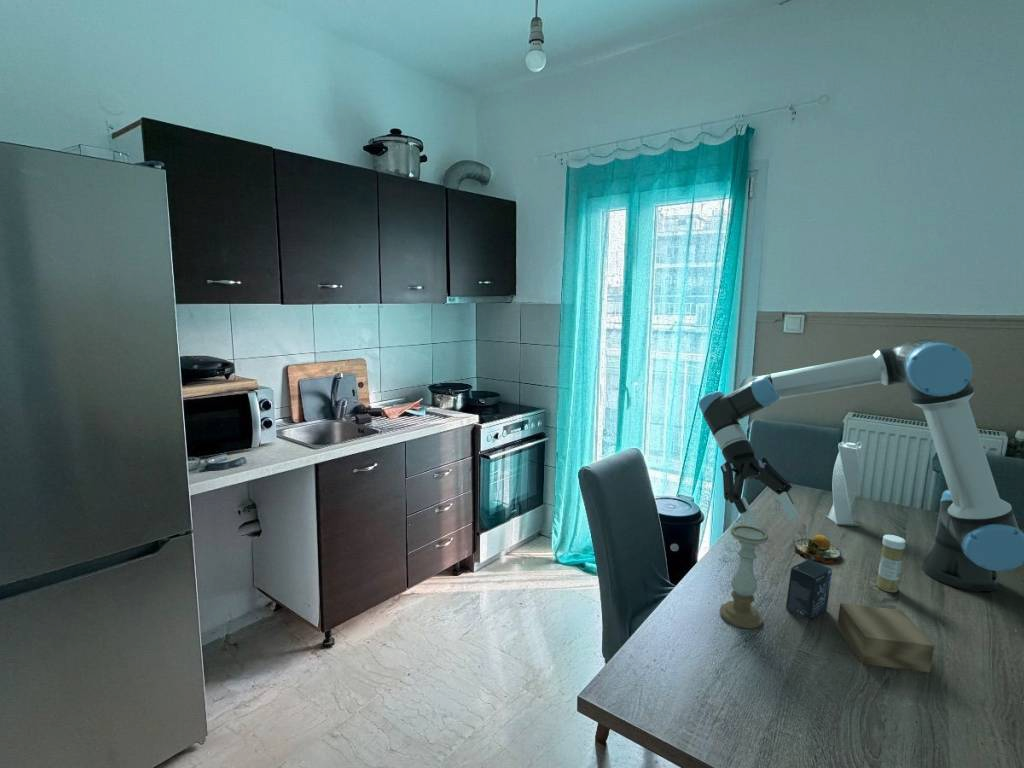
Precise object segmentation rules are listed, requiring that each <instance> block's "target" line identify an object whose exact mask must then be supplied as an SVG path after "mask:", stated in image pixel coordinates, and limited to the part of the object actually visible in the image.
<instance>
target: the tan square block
mask: <svg viewBox="0 0 1024 768" xmlns="http://www.w3.org/2000/svg"><path fill="white" fill-rule="evenodd" d="M836 628H837V629H838V631H839V633H840V634H841V635H842V637H843V638H844V640H845V641H846V642H847V644H848V645H849V647H850V649H852V651H853V653H854V654H855V655H856V657H857V658H858V660H859V661H860V663H861V664H863V665H870V666H879V667H886V668H893V669H901V670H908V671H917V672H923V673H924V672H925V673H930V672H931V668H932V663H933V656H934V652H935V651H934V650H935V644H934V643H933V642H932V641H931V640H929V638H928V637H927V636H926V635H925V634H924V633H923V632H922V630H921V629H920V628H919V627H918V626H917V625H916V624H915V622H913V621H912V620H911V619H910V617H908V616H907V615H906V614H905V611H903V610H902V609H895V608H894V609H893V608H887V607H886V608H885V607H879V606H878V607H876V606H870V605H869V606H867V605H858V604H852V603H851V604H850V603H842V602H840V604H839V610H838V618H837V624H836Z"/></svg>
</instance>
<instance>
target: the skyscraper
mask: <svg viewBox="0 0 1024 768" xmlns="http://www.w3.org/2000/svg"><path fill="white" fill-rule="evenodd" d="M859 444H860V445H859ZM837 447H838V453H837V456H836V459H835V463H834V466H833V472H832V480H831V481H832V482H831V483H832V484H831V485H832V487H831V488H832V501H833V503H832V506H831V508H830V511H829V514H828V515H824V518H826V519H828V520H829V521H830V522H832V523H833V524H834V523H835V525H836V526H839V525H842V526H843V527H860V524H859V523H857V522H856V521H855V520H854V519H853V513H852V508H851V507H852V504H853V502H854V499H855V497H856V494H857V492H858V489H859V486H860V485H859V484H860V482H861V481H860V479H861V460H860V453H861V450H862V449H863V442H862V441H861V440H859V441H857V443H853V442H844V441H841V442H839V443H838V445H837ZM842 526H841V527H842Z"/></svg>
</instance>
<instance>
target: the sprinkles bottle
mask: <svg viewBox="0 0 1024 768" xmlns="http://www.w3.org/2000/svg"><path fill="white" fill-rule="evenodd" d="M906 541H907V540H905V539H904V538H902V537H901V536H897V535H893V534H884V535H883V536H882V549H881V555H880V561H879V566H878V576H877V581H876V586H877V588H879V589H880V590H881V591H885V592H888V593H897V592H898V591H899V583H900V579H901V572H902V568H903V567H902V566H903V555H904V550H905V549H906V543H907V542H906Z"/></svg>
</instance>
